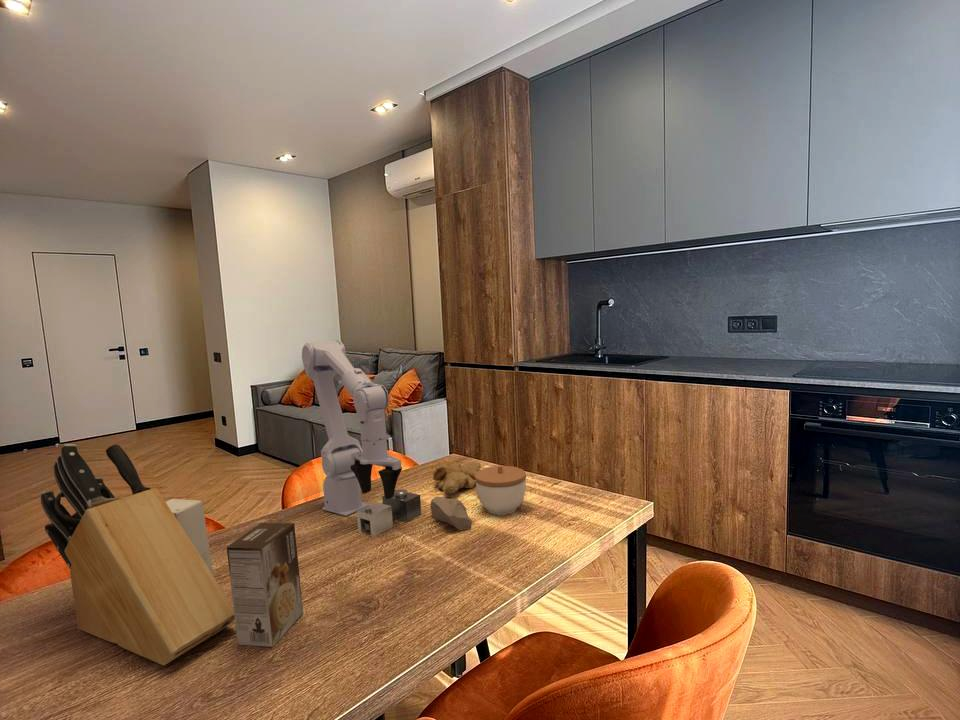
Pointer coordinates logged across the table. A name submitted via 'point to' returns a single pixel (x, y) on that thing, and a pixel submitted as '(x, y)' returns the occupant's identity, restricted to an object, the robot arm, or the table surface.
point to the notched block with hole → (375, 518)
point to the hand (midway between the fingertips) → (377, 494)
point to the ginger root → (455, 476)
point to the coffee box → (265, 583)
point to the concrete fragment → (450, 512)
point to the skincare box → (193, 525)
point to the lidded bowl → (501, 488)
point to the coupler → (402, 506)
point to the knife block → (131, 563)
